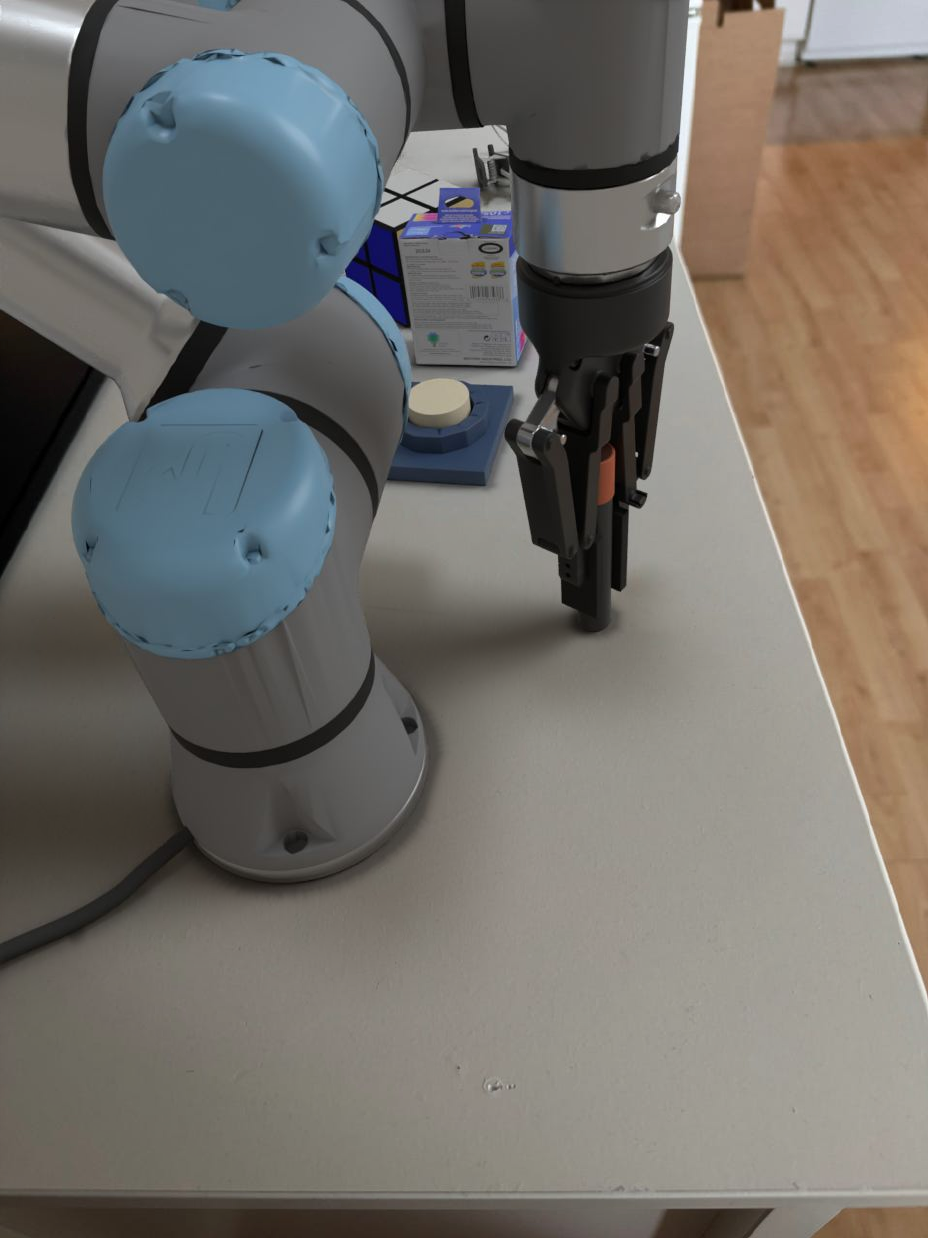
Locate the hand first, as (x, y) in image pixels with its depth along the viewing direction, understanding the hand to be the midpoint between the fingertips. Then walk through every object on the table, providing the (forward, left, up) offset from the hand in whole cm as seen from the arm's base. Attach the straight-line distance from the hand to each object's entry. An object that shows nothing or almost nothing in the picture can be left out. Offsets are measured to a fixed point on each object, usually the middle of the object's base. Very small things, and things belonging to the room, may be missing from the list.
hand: (594, 593), depth 62 cm
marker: (0, 0, -2) cm, 2 cm away
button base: (+11, +22, -2) cm, 25 cm away
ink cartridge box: (+23, +28, -3) cm, 36 cm away
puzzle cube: (+29, +40, -3) cm, 49 cm away
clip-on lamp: (+58, +47, -3) cm, 75 cm away
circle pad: (+11, +22, 0) cm, 25 cm away
